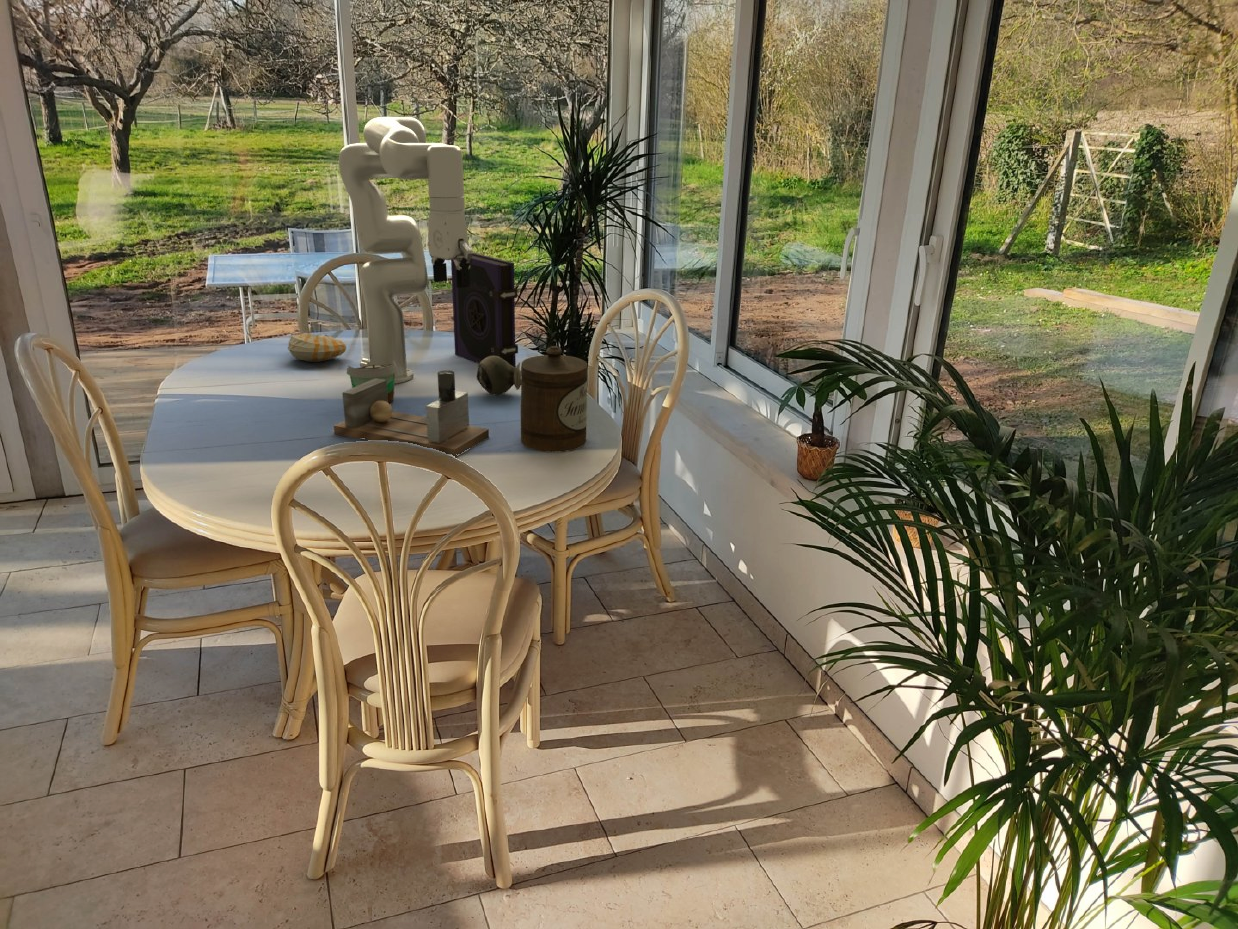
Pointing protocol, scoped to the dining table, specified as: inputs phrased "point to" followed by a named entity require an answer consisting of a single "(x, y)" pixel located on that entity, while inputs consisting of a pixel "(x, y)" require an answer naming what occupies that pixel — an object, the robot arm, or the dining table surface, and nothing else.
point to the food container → (374, 376)
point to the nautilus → (315, 347)
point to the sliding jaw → (447, 410)
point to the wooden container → (553, 402)
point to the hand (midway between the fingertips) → (451, 284)
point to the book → (485, 311)
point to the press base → (396, 422)
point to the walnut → (381, 411)
